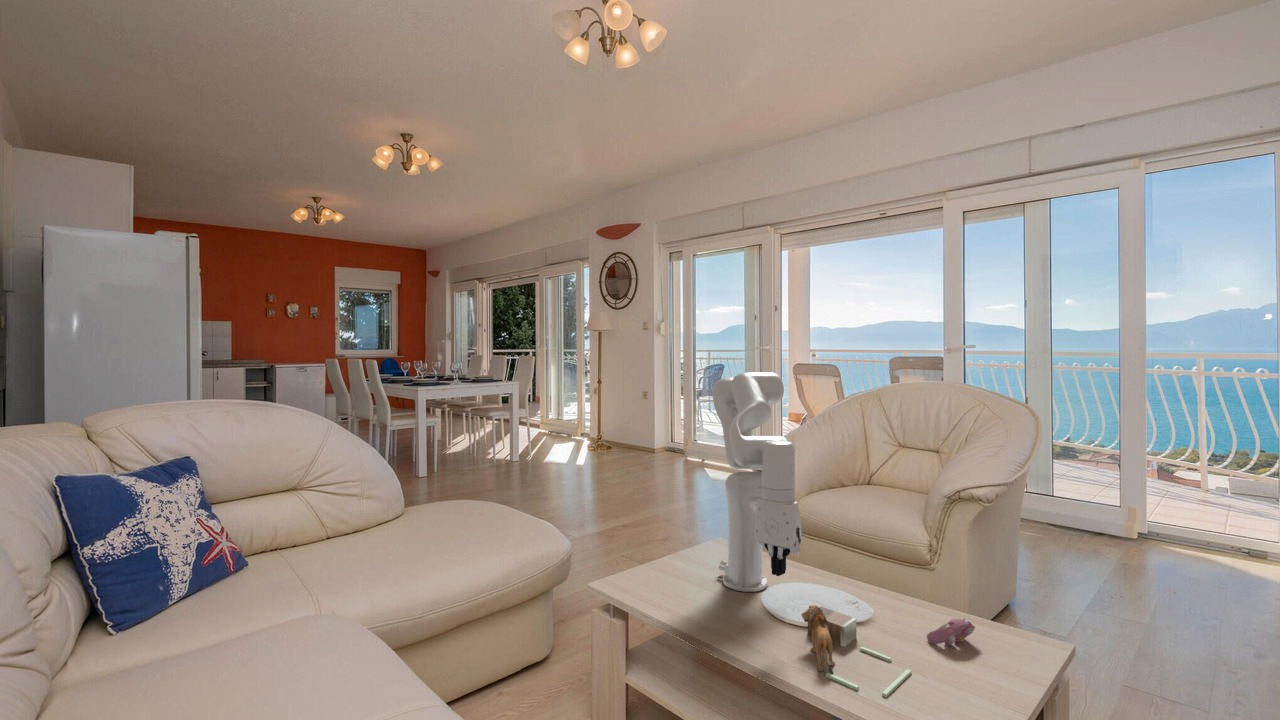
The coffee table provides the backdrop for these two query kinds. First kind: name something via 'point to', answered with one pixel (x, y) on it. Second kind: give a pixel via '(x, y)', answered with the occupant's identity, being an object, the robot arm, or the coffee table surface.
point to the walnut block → (839, 627)
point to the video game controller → (951, 632)
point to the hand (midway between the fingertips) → (778, 573)
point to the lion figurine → (819, 635)
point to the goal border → (901, 677)
